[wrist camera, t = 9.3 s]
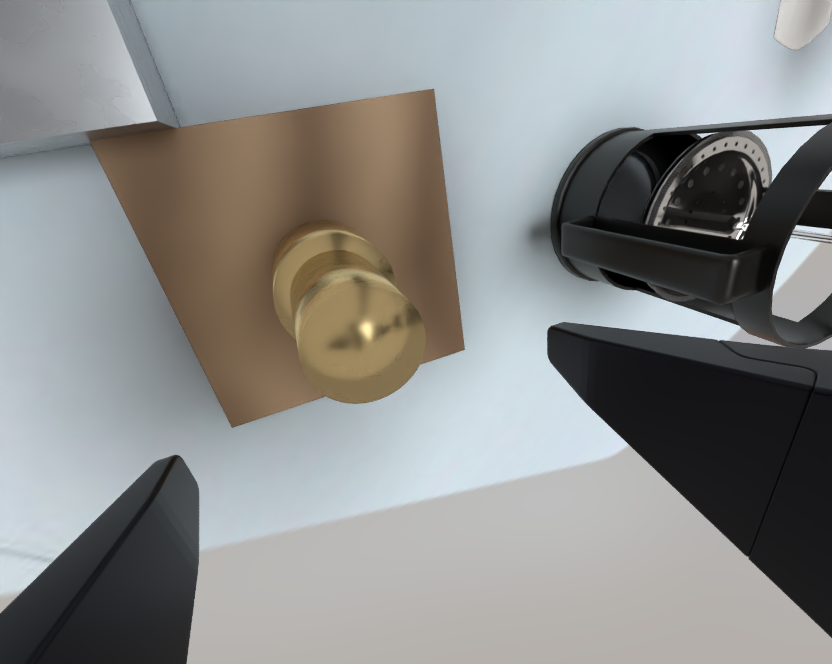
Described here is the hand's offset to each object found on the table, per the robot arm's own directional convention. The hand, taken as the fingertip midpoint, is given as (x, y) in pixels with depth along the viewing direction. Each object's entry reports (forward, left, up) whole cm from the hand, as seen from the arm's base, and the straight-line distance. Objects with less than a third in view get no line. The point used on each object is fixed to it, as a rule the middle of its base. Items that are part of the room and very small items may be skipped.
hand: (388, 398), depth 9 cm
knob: (0, 0, -12) cm, 12 cm away
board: (0, 0, -13) cm, 13 cm away
